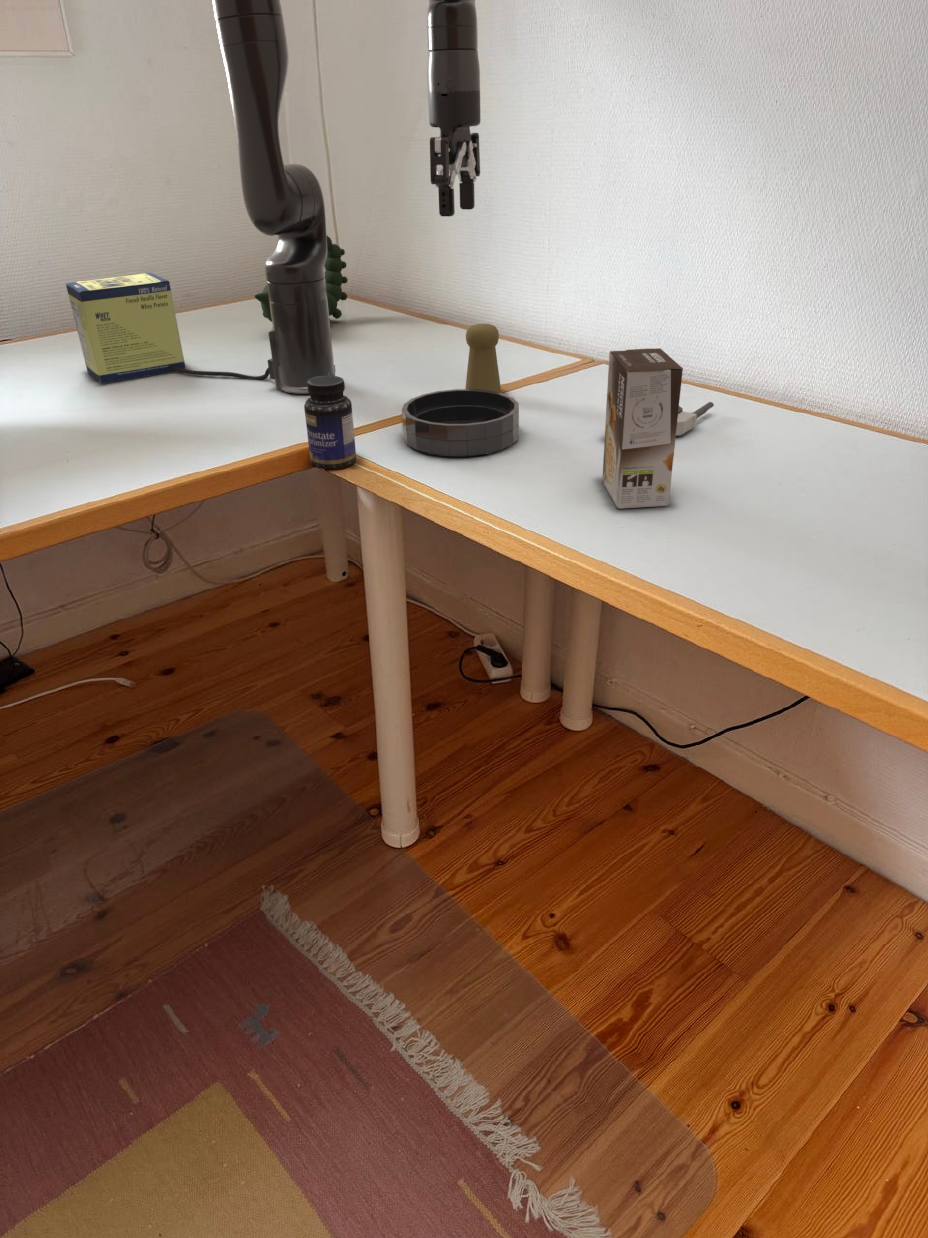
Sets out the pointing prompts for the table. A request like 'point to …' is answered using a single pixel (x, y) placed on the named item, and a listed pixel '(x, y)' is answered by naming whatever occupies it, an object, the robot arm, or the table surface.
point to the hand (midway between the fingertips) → (457, 212)
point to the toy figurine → (331, 279)
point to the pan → (460, 422)
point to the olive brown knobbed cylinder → (482, 358)
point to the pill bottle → (329, 424)
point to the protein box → (126, 326)
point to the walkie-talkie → (690, 418)
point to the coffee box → (640, 426)
